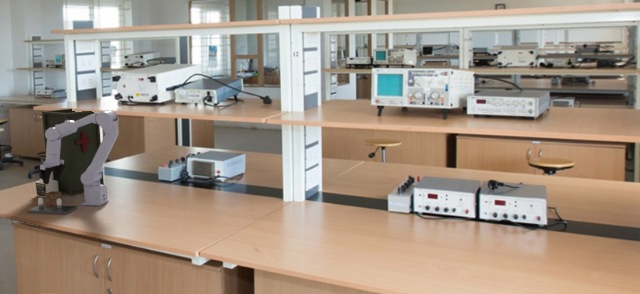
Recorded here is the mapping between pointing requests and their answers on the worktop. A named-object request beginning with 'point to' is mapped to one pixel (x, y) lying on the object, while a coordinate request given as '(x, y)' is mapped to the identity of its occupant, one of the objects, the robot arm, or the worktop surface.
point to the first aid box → (74, 148)
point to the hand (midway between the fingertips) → (51, 181)
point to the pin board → (51, 208)
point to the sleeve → (52, 198)
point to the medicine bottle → (46, 186)
